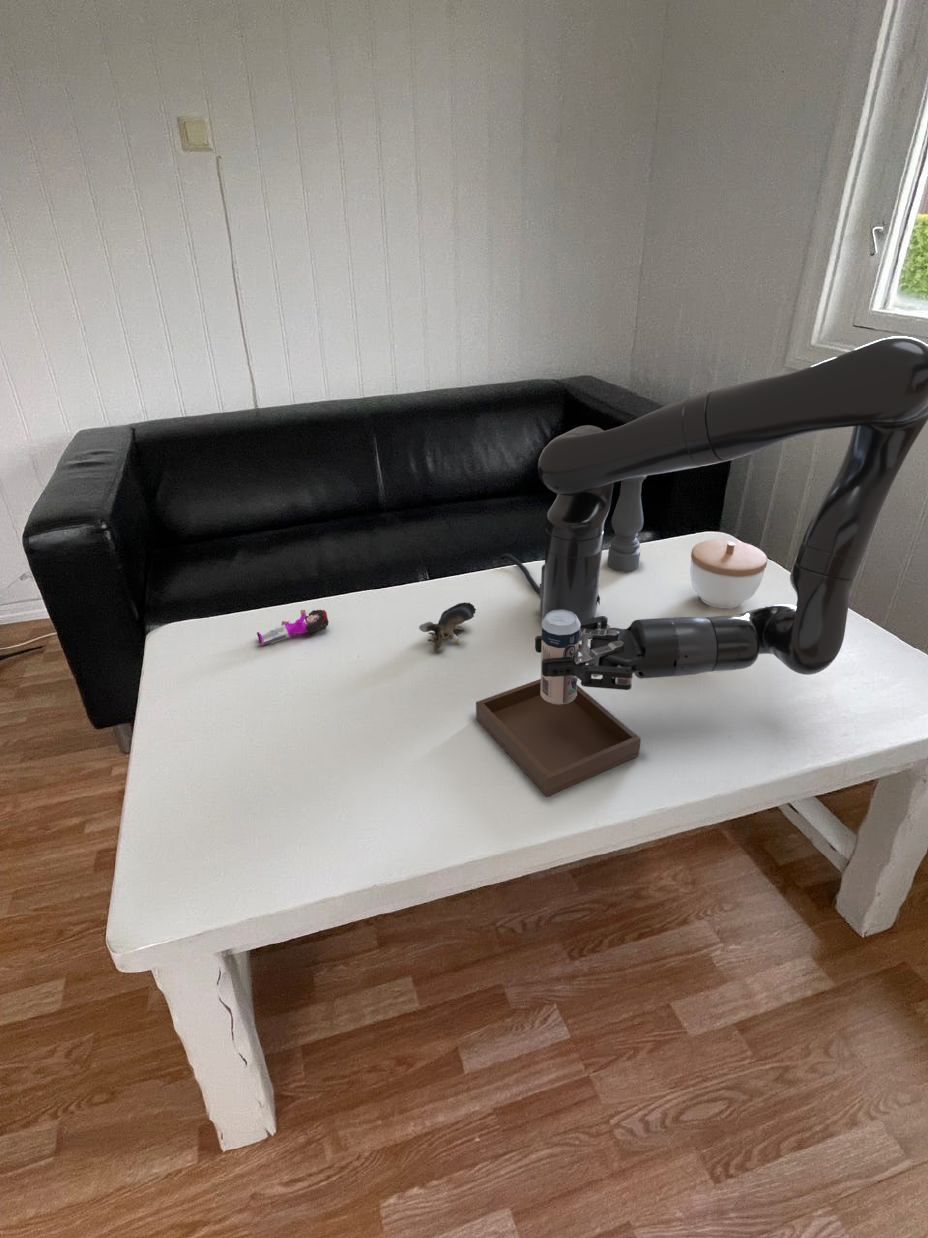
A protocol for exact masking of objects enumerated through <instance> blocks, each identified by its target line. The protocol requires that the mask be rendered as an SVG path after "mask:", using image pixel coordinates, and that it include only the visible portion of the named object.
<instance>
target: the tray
mask: <svg viewBox="0 0 928 1238" xmlns="http://www.w3.org/2000/svg"><path fill="white" fill-rule="evenodd" d="M540 691H541V678H538V679H536V680H533V681H531V682H527V683H525V684H521V685H520V686H516V687H514V688H510V689H508V690H505V691H503V692H500V693H497V694H494V695H491V696H489V697H486V698H483V699H479V700H477V701H475V719H476V720H477V721H478V723H479V724H480V725H481V726H482V727H483V728H484V729H485V730H486V731H487V733H488V734H489V735H490V736H491V737H492V738H493V740H495V742H497V744H498V745H499V746H500V747H501V748H502V749H503V750H504V751H505V752H506V753H507V755H508V756H509V757H510V758H511V759H512V760H513V761H514V762H515V764H517V766H518V767H519V768H520V769H521V770H522V771H523V773H524V774H526V775H527V776H528V778H529V779H530V781H532V782H533V783H534V784H535V786H536V787H537V788H538V789H539V790H540V791H541V792H542V793H543V794H544V795H545V797H549V796H552V795H555V794H556V793H558V792H561V791H563V790H565V789H567V788H570V787H572V786H575V785H576V784H579V783H581V782H583V781H585V780H588V779H591V778H593V777H595V776H597V775H600V774H601V773H604V772H606V771H608V770H610V769H613V768H615V767H618V766H620V765H622V764H623V763H626V762H629V761H631V760H633V759H635V758H638V757H639V756H640V749H641V742H642V738H641V737H640V736H639V735H637V734H636V732H634V731H632V730H631V729H630V728H629V726H626V724H624V723H623V722H622V721H621V720H620V719H618V718H617V717H616V716H615V715H614V714H612V713H611V712H610V711H609V710H608V709H607V708H605V707H604V706H603V705H602V704H600V702H598V701H597V700H596V699H594V697H593V696H591V695H590V694H589V693H588V692H587V691H585V689H583V688H581V686H579V685H578V684H577V689H576V691H577V696H576V698H575V699H574V700H573V701H571V702H570V703H566V704H552V703H550V702H547V701H545V700H544V699H543V698H542V697H541V694H540Z"/></svg>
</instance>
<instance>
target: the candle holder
mask: <svg viewBox="0 0 928 1238" xmlns="http://www.w3.org/2000/svg"><path fill="white" fill-rule="evenodd" d="M646 479H647V476H639V477H633V478H628V479H624V480H620V490H619V496H618V499H617V501H616V505H615V508H614V511H613V515H612V516H611V523H610V524H611V527H612V529H613V531H614V536H613V538H612V539H611V540H610V544H609V545H610V546H609V547H608V553H607V563H606V564H607V565H606V566H607V567H608V569H610V570H612V571H615V572H617V573H631V572H635V571H636V570H638V569H639V566H640V556H641V549H640V546H641V545H640V544H641V543H640V541H639V539H638V538H637V537H638V535H639V533H640V532H641V530H642V529H643V527H644V523H645V521H644V511H643V505H642V495H641V494H642V486H643V485H642V484H643V482H644V481H645V480H646Z"/></svg>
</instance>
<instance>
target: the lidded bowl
mask: <svg viewBox="0 0 928 1238" xmlns="http://www.w3.org/2000/svg"><path fill="white" fill-rule="evenodd" d="M690 558H691V559H690V566H689V579H690V582H691V586H692V588H693V590H694V592H695V593H696V595H697V596H698V597H699V599H700V601H701V602H702V603H704V604H706V605H707V606H709V607H712V608H715V609H720V610H721V609H722V610H733V609H736V608H738V607H740V606H741V605H742V604H744V603H745V602H747V601H749V600H750V599H751V598H752V597H753V596H754V595H755V594H756V592H757V591H758V590H759V587H760V585H761V583H762V580H763V577H764V574H765V571H766V568H767V565H768V556H767V554H766V553H765V552H764V551H763V550H761V549H760V548H758V547H756V546H754V545H752V544H750V543H746V542H743V541H737V540H731V539H708V540H705V541H701V542H698V543H696V544H695V545H694V546H693V547H692V550H691V552H690Z"/></svg>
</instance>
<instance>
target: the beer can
mask: <svg viewBox="0 0 928 1238" xmlns="http://www.w3.org/2000/svg"><path fill="white" fill-rule="evenodd" d="M580 626H581V624H580V621H579V620H578V618H577V616H576V615H575V614H574V613H573V612H571V611H567V610H553V611H551V612H549V613H547V614H546V616H545V618H544V619H543V621H542V620H541V635H542V646H541V653H540V654H541V655H540V661H541V662H540V679H541V691H540V694H541V697H542V698H543V699H544V700H545V701H547V702H550V703H552V704H566V703H570V702H571V701H573V700H574V699H575V698H576V696H577V691H576V689H577V685H578V679H577V678H574V677H573V676H558V677H550V676H548V677H545V676H543V674H542V671H541V669H542V660H543V659H549V658H564V657H572V659H573V660H574V658H575V657H579V653H580V652H579V644H580V641H579V634H580Z"/></svg>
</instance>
